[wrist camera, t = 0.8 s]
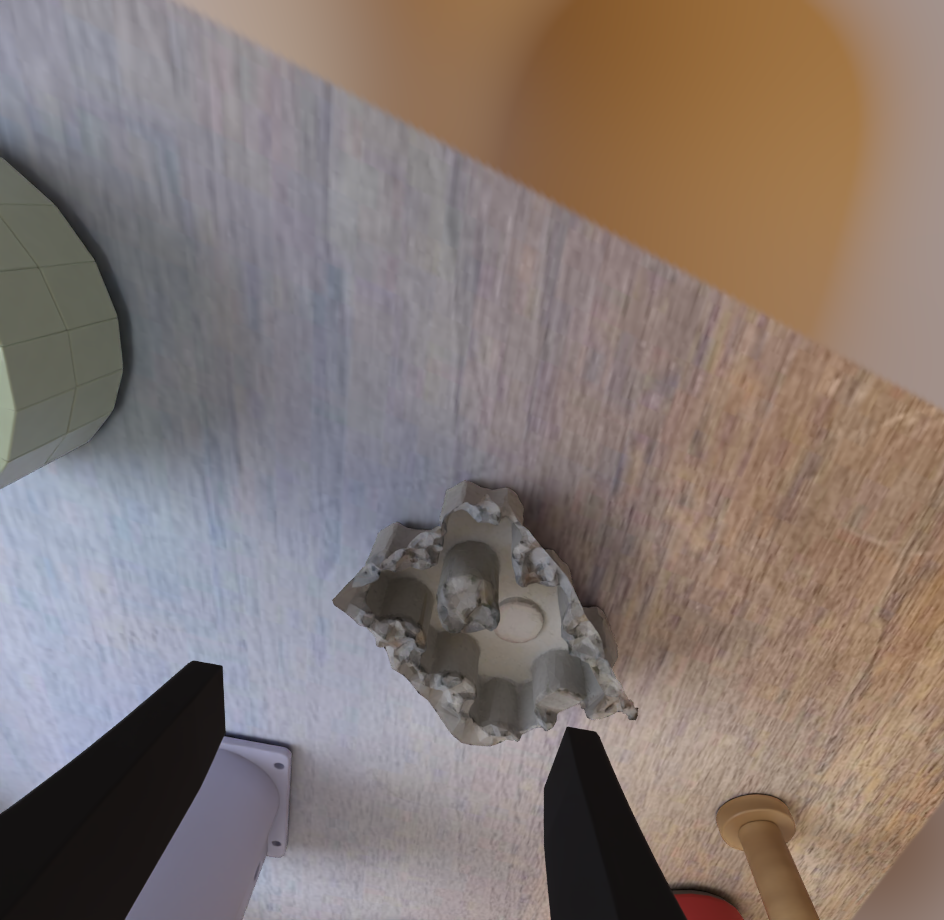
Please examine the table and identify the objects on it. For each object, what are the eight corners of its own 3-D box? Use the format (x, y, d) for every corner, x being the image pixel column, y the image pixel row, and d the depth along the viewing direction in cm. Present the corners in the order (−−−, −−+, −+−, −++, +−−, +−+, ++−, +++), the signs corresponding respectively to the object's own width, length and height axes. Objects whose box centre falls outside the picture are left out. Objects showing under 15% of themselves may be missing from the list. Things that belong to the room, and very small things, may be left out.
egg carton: (629, 643, 23) (653, 727, 19) (482, 700, 25) (478, 785, 21) (505, 451, 19) (505, 508, 15) (346, 535, 21) (311, 604, 17)
